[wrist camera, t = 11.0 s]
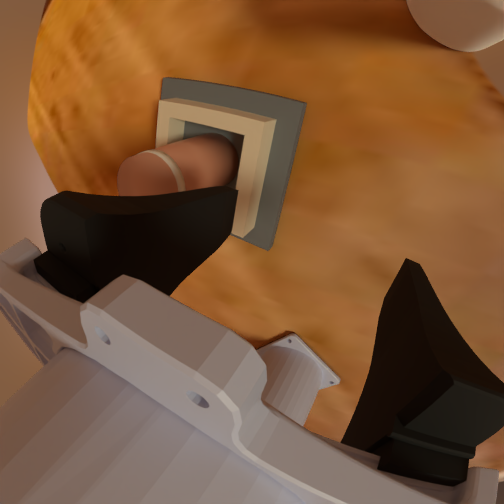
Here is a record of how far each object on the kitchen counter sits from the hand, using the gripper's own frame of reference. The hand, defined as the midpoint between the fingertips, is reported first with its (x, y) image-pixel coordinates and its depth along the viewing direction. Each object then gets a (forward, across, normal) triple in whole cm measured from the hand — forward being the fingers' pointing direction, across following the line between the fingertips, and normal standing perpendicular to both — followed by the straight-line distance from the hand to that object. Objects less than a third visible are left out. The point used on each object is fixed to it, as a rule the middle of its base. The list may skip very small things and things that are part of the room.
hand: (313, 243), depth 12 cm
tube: (+10, +10, +2) cm, 14 cm away
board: (+10, +10, +2) cm, 15 cm away
